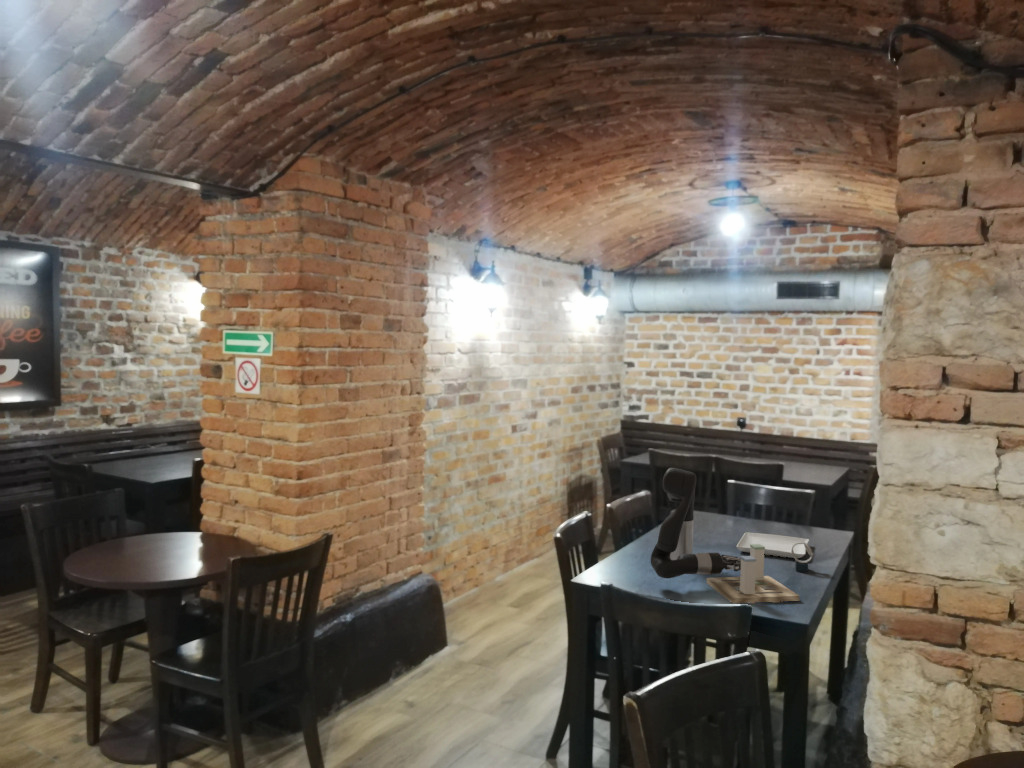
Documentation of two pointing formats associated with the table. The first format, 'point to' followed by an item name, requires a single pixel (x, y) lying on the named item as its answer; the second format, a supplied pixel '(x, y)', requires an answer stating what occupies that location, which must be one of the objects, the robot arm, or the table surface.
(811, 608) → the table surface
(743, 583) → the near switch
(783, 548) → the square plate
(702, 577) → the table surface
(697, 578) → the table surface
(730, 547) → the table surface
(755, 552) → the tall beige block
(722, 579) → the switch board
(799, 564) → the watch
